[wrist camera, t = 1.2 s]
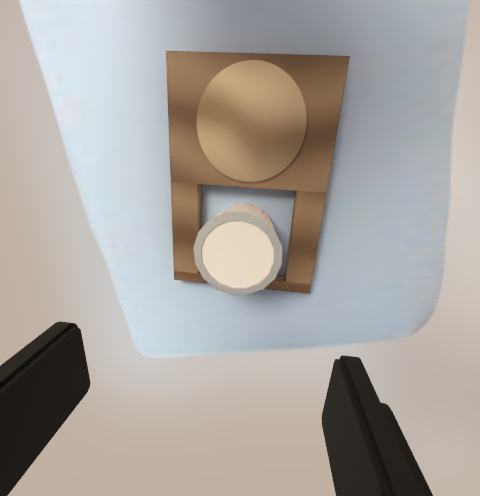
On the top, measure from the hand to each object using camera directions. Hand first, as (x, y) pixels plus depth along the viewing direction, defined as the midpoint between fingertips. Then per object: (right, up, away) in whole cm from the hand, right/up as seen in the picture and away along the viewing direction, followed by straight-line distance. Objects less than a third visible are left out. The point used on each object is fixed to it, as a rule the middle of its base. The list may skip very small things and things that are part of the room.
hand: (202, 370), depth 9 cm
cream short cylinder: (+2, +6, +17) cm, 18 cm away
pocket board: (+2, +10, +15) cm, 18 cm away
